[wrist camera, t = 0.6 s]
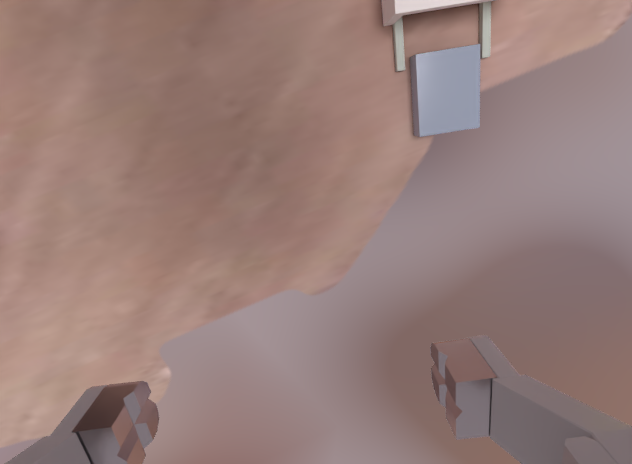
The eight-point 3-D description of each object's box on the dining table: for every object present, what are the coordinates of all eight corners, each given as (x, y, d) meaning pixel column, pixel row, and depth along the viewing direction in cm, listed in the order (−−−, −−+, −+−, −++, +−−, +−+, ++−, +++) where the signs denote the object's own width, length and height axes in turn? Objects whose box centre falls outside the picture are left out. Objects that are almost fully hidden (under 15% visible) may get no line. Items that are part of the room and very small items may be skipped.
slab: (409, 57, 46) (415, 54, 43) (469, 47, 46) (480, 43, 43) (413, 135, 50) (419, 136, 47) (469, 126, 50) (479, 127, 47)
